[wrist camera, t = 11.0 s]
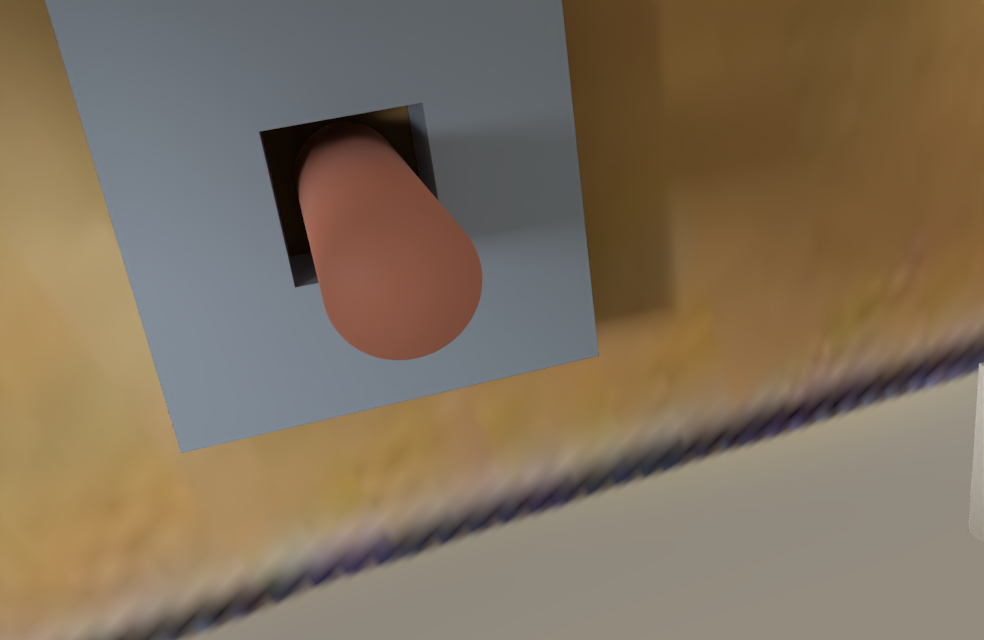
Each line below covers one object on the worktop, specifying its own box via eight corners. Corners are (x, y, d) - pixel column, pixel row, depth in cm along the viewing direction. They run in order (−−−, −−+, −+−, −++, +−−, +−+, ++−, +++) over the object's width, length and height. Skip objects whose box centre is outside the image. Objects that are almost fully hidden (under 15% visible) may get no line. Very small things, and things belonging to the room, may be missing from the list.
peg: (306, 235, 36) (339, 376, 24) (283, 132, 35) (305, 223, 22) (407, 214, 37) (493, 340, 24) (389, 113, 35) (470, 191, 23)
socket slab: (187, 406, 37) (181, 453, 34) (64, -14, 31) (41, -13, 28) (566, 321, 40) (598, 355, 37) (520, -80, 34) (552, -87, 31)
